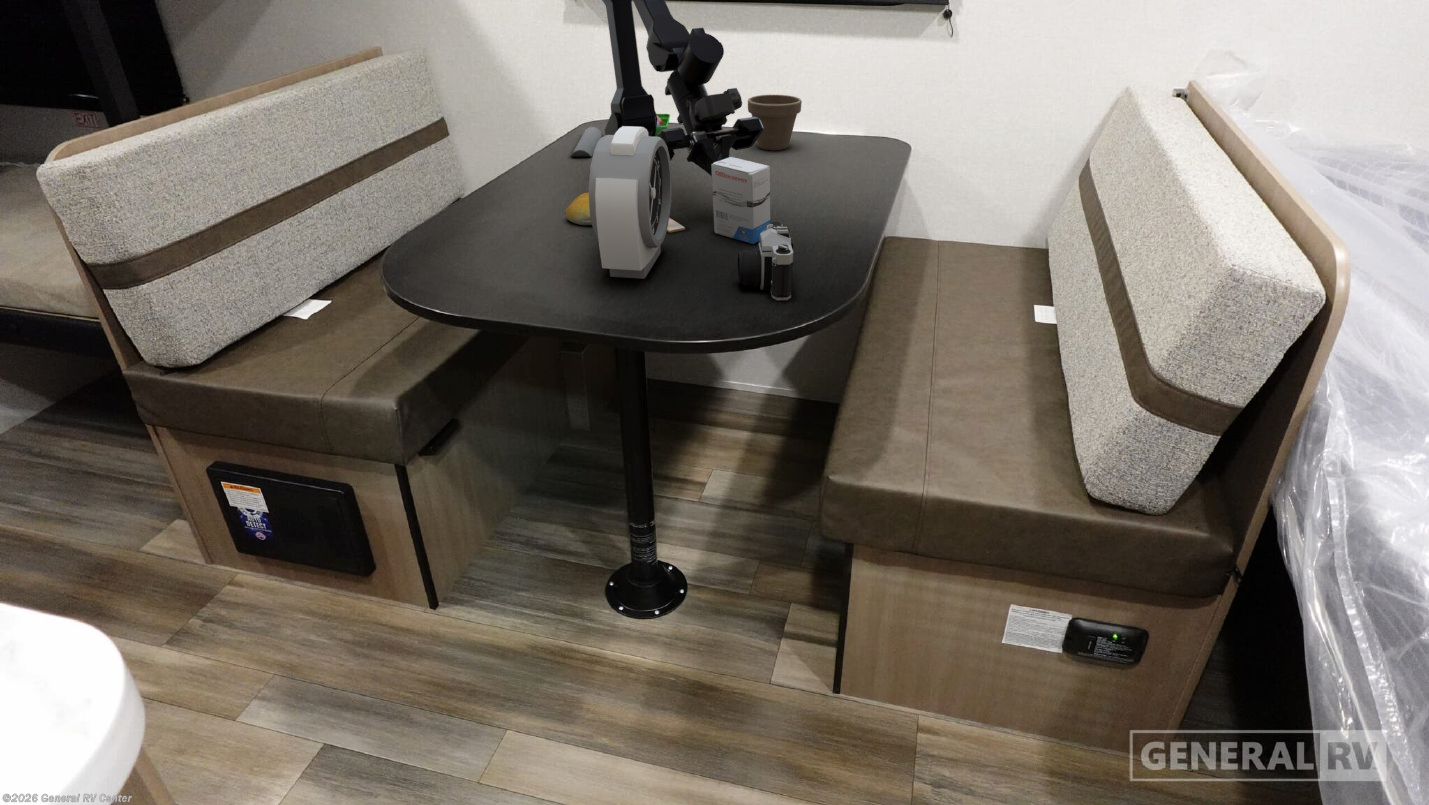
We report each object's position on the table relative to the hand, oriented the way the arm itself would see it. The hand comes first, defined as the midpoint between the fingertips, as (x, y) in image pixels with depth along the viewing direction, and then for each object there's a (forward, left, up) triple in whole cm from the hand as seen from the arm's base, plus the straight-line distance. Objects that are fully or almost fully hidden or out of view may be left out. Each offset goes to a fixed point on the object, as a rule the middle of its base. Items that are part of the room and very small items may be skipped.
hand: (726, 184), depth 144 cm
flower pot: (-21, +48, -8) cm, 53 cm away
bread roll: (-22, -9, -8) cm, 25 cm away
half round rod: (-55, +25, -8) cm, 61 cm away
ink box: (+4, -2, -7) cm, 9 cm away
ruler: (-13, -3, -7) cm, 15 cm away
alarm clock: (-2, -21, -8) cm, 23 cm away
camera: (+18, -16, -8) cm, 26 cm away
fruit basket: (-45, +35, -8) cm, 57 cm away
